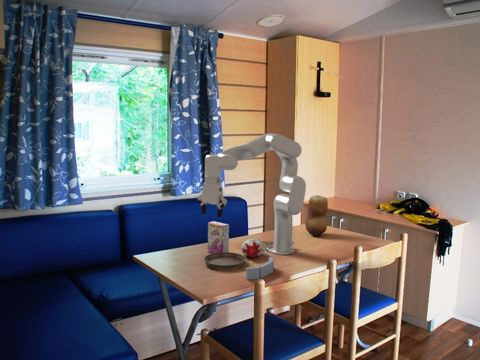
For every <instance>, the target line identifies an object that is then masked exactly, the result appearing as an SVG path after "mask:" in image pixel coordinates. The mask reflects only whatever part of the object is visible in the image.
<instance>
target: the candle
mask: <svg viewBox="0 0 480 360" xmlns="http://www.w3.org/2000/svg"><path fill="white" fill-rule="evenodd" d="M240 250H241V253H242V254H243V256H244V257H245V258H255V257H257V256H261V254H262V251H263V245H262V243H261V240H260V239H259V238H249V239H247V240H245V241H244V242H243V243H242V244H241V248H240Z"/></svg>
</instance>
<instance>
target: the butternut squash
mask: <svg viewBox="0 0 480 360" xmlns="http://www.w3.org/2000/svg"><path fill="white" fill-rule="evenodd" d="M307 205H308V206H307V218H306V221H305V224H304V226H305V230H306V231H307V232H308V234H309V235H310V236H312V235H313V236H316V235H317V236H321V235H323V234H324V233H326V231H327V228H328V222H327V217H326V215H327V211H328V207H329V206H328V205H329V203H328V198H327V197H326V196H323V195H316V194H315V195H314V194H313V195H312V196H310V198H309V200H308V203H307ZM313 236H312V237H313Z"/></svg>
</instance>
